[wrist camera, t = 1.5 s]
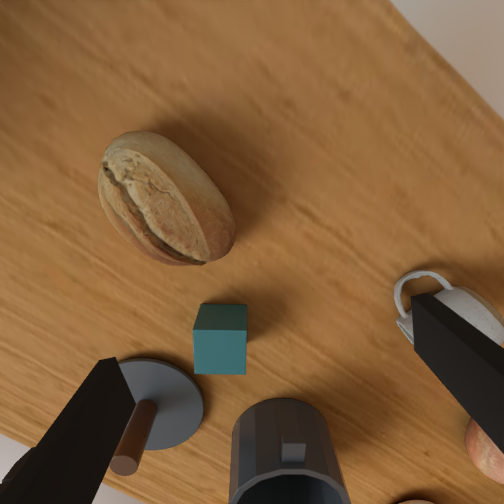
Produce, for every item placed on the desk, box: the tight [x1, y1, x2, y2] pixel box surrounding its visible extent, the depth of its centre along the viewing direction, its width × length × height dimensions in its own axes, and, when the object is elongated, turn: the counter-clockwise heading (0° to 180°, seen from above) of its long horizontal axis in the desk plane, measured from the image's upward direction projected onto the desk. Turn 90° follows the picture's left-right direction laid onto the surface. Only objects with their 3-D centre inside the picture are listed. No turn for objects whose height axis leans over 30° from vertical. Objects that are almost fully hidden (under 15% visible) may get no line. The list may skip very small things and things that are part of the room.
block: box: [193, 304, 247, 375], centre depth 33 cm, size 6×6×6 cm
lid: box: [109, 358, 204, 476], centre depth 35 cm, size 15×15×9 cm
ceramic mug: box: [394, 270, 504, 345], centre depth 32 cm, size 11×8×8 cm
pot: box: [229, 398, 351, 504], centre depth 37 cm, size 14×19×10 cm
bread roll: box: [98, 131, 236, 266], centre depth 27 cm, size 10×15×8 cm, turn 44°
